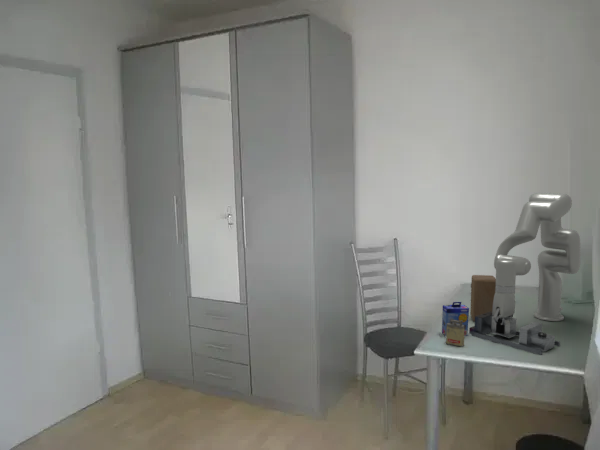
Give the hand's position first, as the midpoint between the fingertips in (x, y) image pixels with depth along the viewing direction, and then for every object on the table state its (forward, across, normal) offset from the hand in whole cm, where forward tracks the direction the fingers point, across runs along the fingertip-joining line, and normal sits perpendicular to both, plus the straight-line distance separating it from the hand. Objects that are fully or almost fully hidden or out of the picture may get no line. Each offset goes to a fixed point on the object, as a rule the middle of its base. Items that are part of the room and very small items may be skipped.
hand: (503, 331), depth 209 cm
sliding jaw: (+2, 0, +15) cm, 15 cm away
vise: (+2, 0, +4) cm, 5 cm away
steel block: (+1, 0, 0) cm, 1 cm away
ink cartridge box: (+3, +12, -15) cm, 20 cm away
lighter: (+3, +22, -8) cm, 24 cm away
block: (+3, -16, -19) cm, 25 cm away
